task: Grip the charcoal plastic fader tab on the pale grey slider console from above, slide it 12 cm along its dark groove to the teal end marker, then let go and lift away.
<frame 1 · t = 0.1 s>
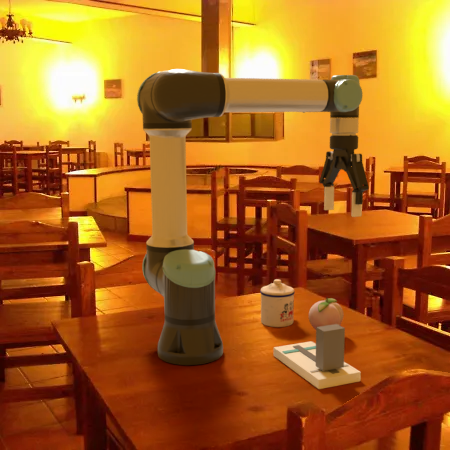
hand: (342, 213, 175), 28 cm above the table, tool pointing down, fingers open, 13 cm apart
decorative fruit: (324, 336, 161), on the table
fader tab: (330, 347, 134), point 7 cm above the table, slide at 0.0 cm
slider console: (314, 367, 140), on the table
teacup with lid: (279, 321, 173), on the table
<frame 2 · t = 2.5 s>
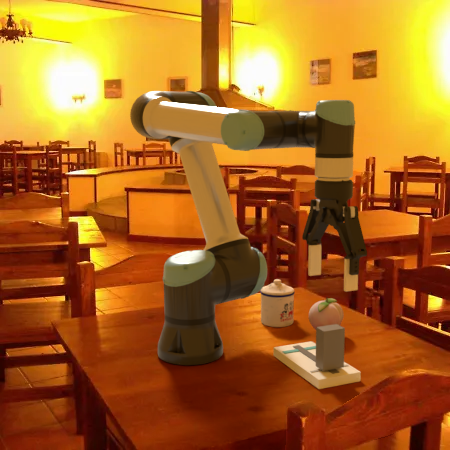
hand: (331, 282, 132), 21 cm above the table, tool pointing down, fingers open, 13 cm apart
nothing on the table moved.
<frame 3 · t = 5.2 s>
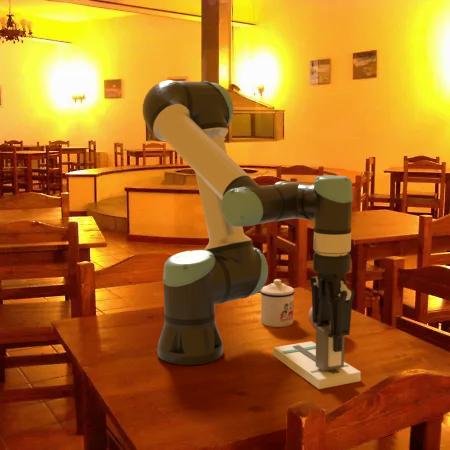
hand: (329, 361, 134), 4 cm above the table, tool pointing down, fingers closed on fader tab, 3 cm apart
fader tab: (330, 347, 134), point 7 cm above the table, slide at 0.0 cm, touching gripper
everything else where it was.
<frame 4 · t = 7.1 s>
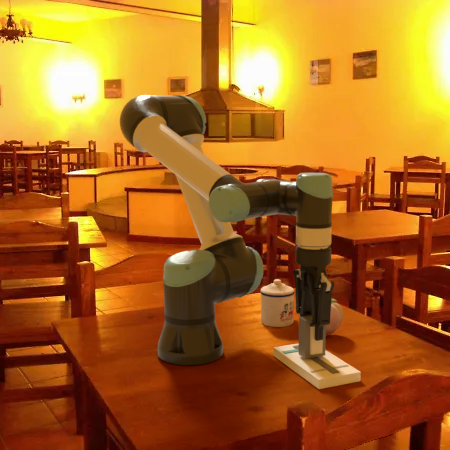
hand: (311, 350, 141), 4 cm above the table, tool pointing down, fingers closed on fader tab, 3 cm apart
fader tab: (312, 336, 140), point 7 cm above the table, slide at 7.3 cm, touching gripper
everything else where it was.
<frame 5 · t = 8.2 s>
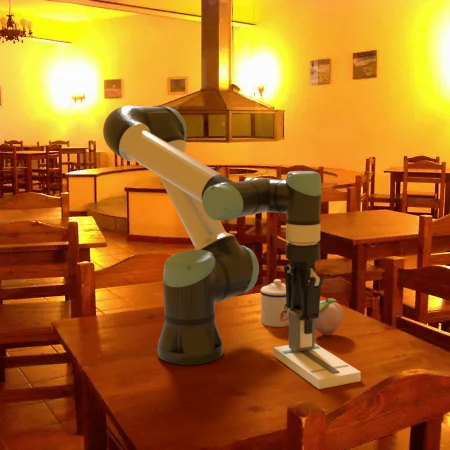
hand: (301, 343, 145), 4 cm above the table, tool pointing down, fingers closed on fader tab, 3 cm apart
fader tab: (301, 330, 145), point 7 cm above the table, slide at 11.8 cm, touching gripper
everything else where it was.
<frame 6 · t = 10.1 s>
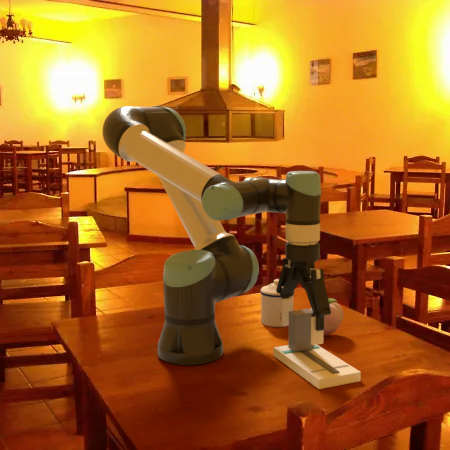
hand: (301, 334, 145), 6 cm above the table, tool pointing down, fingers open, 13 cm apart
fader tab: (301, 329, 145), point 7 cm above the table, slide at 12.0 cm
everything else where it was.
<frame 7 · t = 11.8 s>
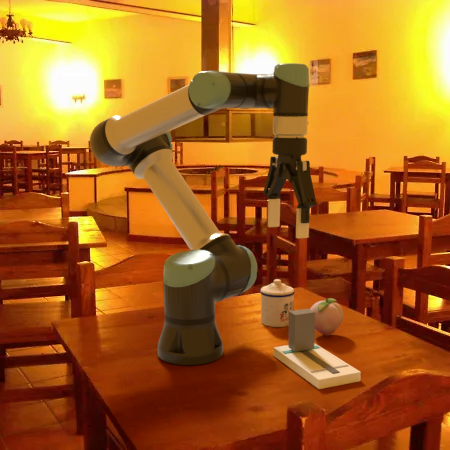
hand: (287, 232, 144), 29 cm above the table, tool pointing down, fingers open, 13 cm apart
nothing on the table moved.
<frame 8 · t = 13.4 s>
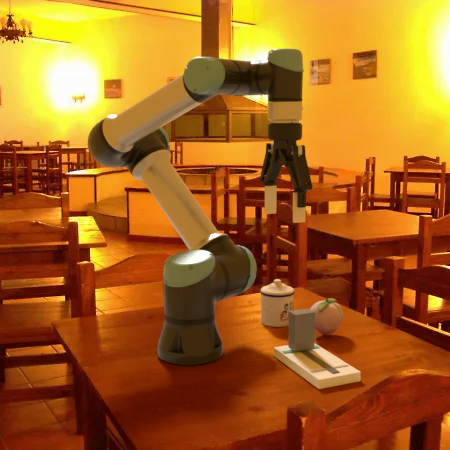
hand: (284, 217, 144), 32 cm above the table, tool pointing down, fingers open, 13 cm apart
nothing on the table moved.
at the end: fader tab slide at 12.0 cm; the gripper is holding nothing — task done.
